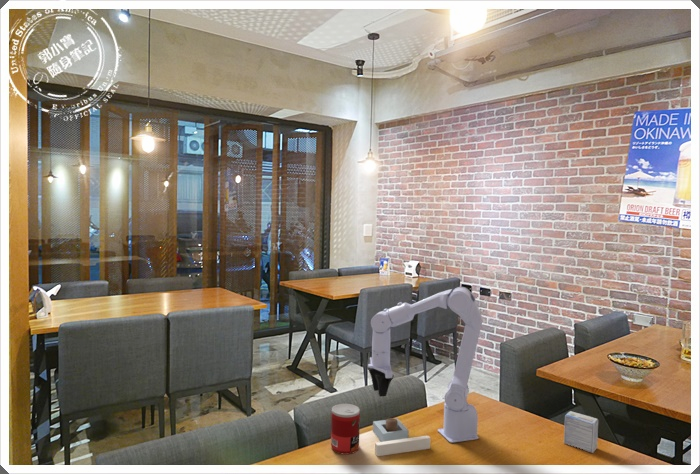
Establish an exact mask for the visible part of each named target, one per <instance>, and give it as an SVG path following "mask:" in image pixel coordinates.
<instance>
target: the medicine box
mask: <svg viewBox="0 0 700 474" xmlns="http://www.w3.org/2000/svg"><path fill="white" fill-rule="evenodd" d="M598 433H599V419H598V418H596V417H593V416H590V415H586V414H582V413H578V412H576V411H575V412H574V411H571V410H570V411H568V412H567V413H566V414H565V415H564V433H563V434H564V435H563V444H564V443H565V445H567V444H568V446H570V445H571V447H573V446H574V448H576V447H577V449H579V448H580V450H582V449H583V450H582V451H586V452H588V453H591V454H594V453H595V451H596V450H597V449H598V437H599V436H598Z"/></svg>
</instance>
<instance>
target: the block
mask: <svg viewBox="0 0 700 474" xmlns="http://www.w3.org/2000/svg"><path fill="white" fill-rule="evenodd" d="M395 419H396V420H397V421H398V422H397V431H392V432H387V431H386V419H382V420H373V421H372V432H373V433H374V435H375V436H376V437H377V439H378V440H379V442H384V441H391V440H398V439H405V438H409V431H410V430H409V429H408V428H407V426H405V425H404V424H403V423H402V421H401V420H400V419H399V418H395Z"/></svg>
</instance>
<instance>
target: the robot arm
mask: <svg viewBox="0 0 700 474" xmlns="http://www.w3.org/2000/svg"><path fill="white" fill-rule="evenodd" d="M435 308H442V309H445V310H447V309H448V308H449V309H450V310H451V311H452V312H454V313H455V314H456V315H458V316H459V317H460V319H461V320H462V321H463V323H464V329H463V334H462V338H461V342H460V346H459V350H458V355H457V358H456V363H455V366H454V373H453V375H452V380H450V382H449V383H448V384H447V385H448V386H447V389H446V392H445V395H444V397H443V398H444V402H443V426H442V427H443V428H438V429H437V432H438V433H440V435H442V437H443V438H444V439H446V440H447V441H448V442H449V443H451V444H453V443H461V442H467V441H472V440H473V441H474V440H479V436H478V420H479V419H478V418H479V417H478V412H477V408H476V407H475V405H473V404H471V403H468V395H469V392H470V390H469V388H470V387H469V385H468V383H469V378H470V374H471V370H472V366H473V363H474V362H473V361H474V358H475V353H476V350H477V346H478V341H479V337H480V333H481V328H482V324H483V316H482V313H481V311H480V308H479V305H478V303H477V299H476V296H475V295H474V294H473V293H472V292H471V291H470V290H469V289H468V288H467V287H464V286H458V287H456V288H454V289H453V288H451V289H447V290H444V291H439V292H438V293H435V294H433V295H431V296H428V297H426V298H424V299H421V300H419V301H416V302H414V303H412V304H411V303H408V302H407V301H406V302H402V301H400V302H398V303H397V305H395V306H393V307H390V308H384V309H383V310H382V311H381V310H380V311H379V312H377V313H376V314H375V315H373V316H372V318H371V320H370V327H371V329H372V336H371V337H372V338H371V339H372V340H371V356H370V357H369V363H368V364H367V369H368V370H367V371H368V372H369V375H370V377H371V382H372V389H373V391H374V392H377V391H378V396H379V397H386V396H387V394H388V391H389V387H390V384H391V382H392V380H393V379H394V373H393V370H392V366H391V339H392V338H391V327H392V328H395V327H398V326H401V325H403V324H406V323H408V322H411V321H413V320H414V317H415V316H416V315H418V314H420V313H423V312H426V311H428V310H431V309H435Z"/></svg>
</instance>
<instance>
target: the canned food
mask: <svg viewBox="0 0 700 474" xmlns="http://www.w3.org/2000/svg"><path fill="white" fill-rule="evenodd" d="M330 416H331V417H330V418H331V421H330V422H331V424H330V425H331V429H330V430H331V431H330V446H331V450H333V452H335V451H336V452H335V453H337V452H338V453H337V454H341V453H343V454H342V455H351V454H354V453H356V452H358V450H359V446H360V427H361V426H360V424H361V423H360V421H361V410H360V407H359V406H357V405H355V404H352V403H338V404H336V405H333V406H332V407H331V415H330ZM353 452H354V453H353ZM350 453H351V454H350Z"/></svg>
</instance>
